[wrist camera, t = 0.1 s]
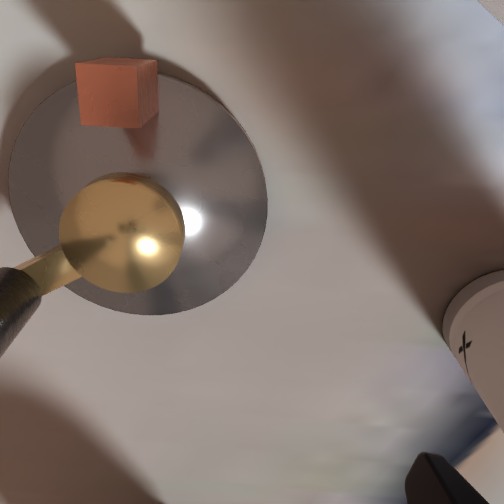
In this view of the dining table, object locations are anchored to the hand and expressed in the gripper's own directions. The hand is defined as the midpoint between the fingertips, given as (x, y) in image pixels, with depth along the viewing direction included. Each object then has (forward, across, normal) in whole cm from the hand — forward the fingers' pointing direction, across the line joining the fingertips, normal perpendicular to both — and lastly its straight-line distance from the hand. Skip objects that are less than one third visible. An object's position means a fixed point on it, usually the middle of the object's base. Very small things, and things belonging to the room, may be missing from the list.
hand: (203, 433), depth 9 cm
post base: (+15, +4, +1) cm, 15 cm away
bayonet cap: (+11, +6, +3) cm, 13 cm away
